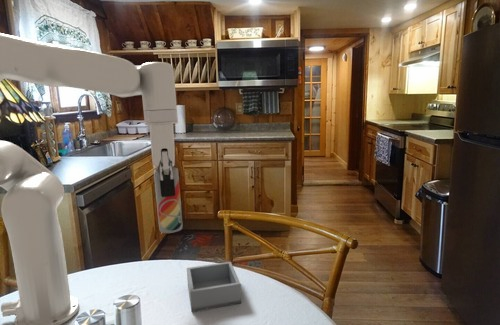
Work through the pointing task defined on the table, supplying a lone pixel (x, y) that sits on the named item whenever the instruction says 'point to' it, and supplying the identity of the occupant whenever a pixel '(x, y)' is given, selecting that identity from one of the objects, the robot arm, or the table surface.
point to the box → (213, 286)
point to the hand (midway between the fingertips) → (167, 192)
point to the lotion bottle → (168, 204)
